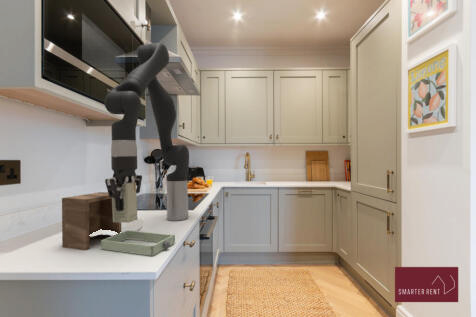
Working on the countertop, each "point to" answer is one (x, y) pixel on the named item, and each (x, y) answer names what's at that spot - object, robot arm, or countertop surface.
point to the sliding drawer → (116, 245)
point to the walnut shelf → (86, 218)
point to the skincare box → (126, 205)
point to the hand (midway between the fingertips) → (125, 208)
